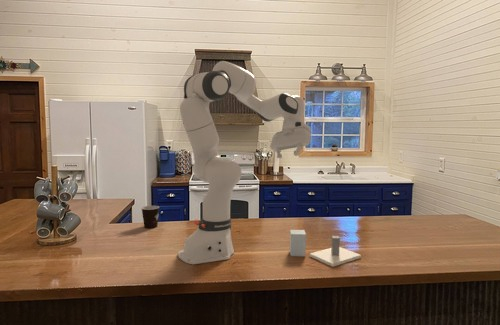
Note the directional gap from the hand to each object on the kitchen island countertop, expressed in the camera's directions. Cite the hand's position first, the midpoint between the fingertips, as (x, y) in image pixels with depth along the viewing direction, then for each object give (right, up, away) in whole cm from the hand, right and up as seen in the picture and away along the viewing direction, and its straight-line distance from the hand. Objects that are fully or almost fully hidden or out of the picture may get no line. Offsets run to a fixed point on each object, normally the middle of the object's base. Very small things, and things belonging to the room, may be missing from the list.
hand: (287, 156), depth 151 cm
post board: (+17, -40, -16) cm, 47 cm away
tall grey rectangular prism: (+3, -40, -12) cm, 42 cm away
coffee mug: (-66, -36, +24) cm, 79 cm away
